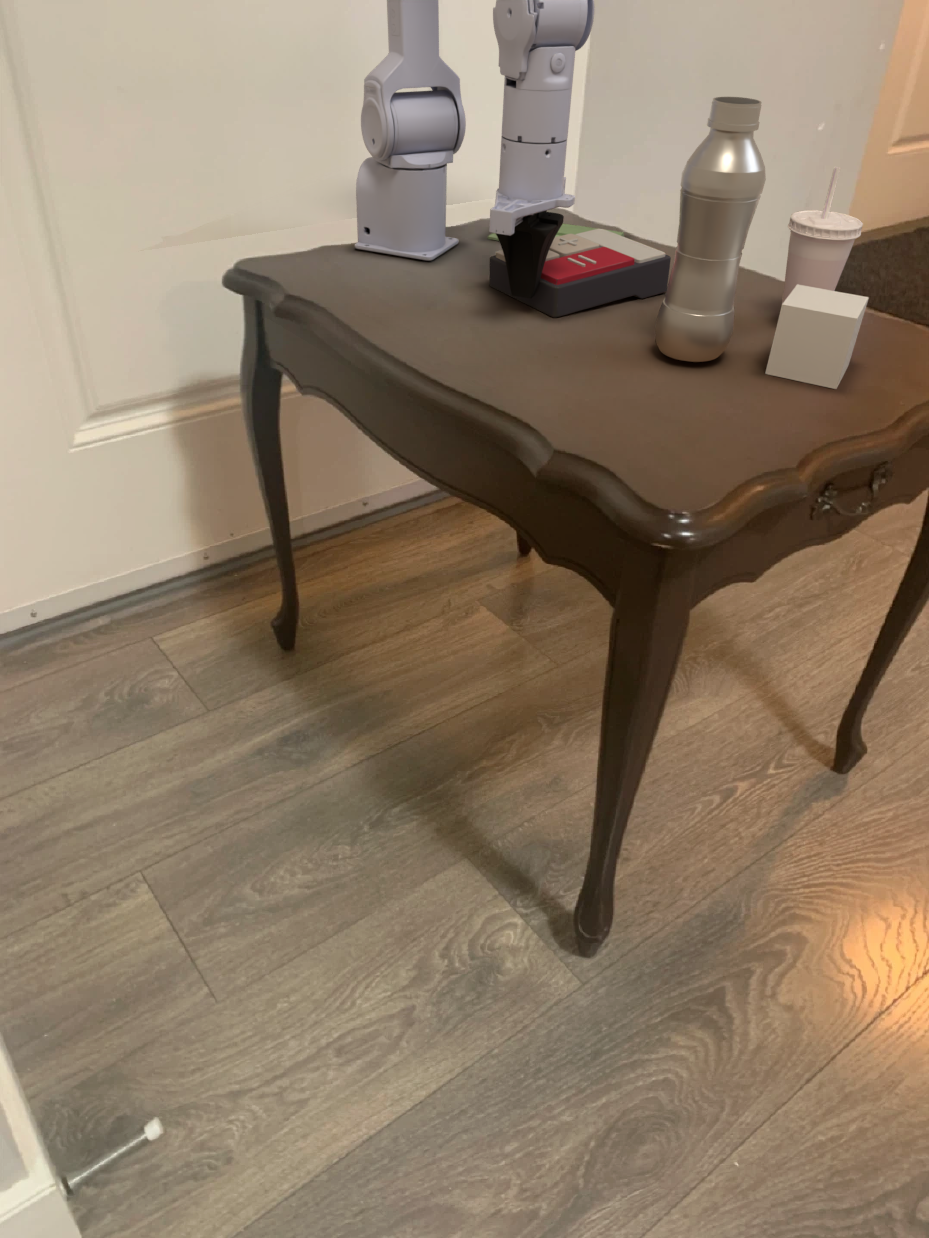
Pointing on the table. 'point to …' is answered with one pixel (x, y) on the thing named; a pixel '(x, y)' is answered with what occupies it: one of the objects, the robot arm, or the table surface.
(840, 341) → the off-white cube
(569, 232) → the cloth
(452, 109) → the robot arm
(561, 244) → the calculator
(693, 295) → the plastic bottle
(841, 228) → the smoothie
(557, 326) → the table surface
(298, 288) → the table surface
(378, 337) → the table surface
